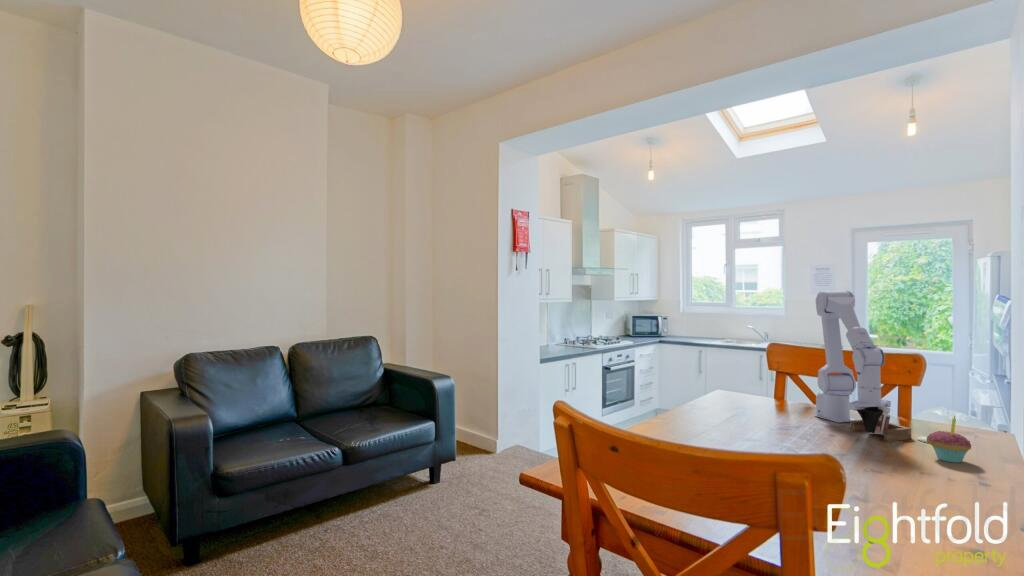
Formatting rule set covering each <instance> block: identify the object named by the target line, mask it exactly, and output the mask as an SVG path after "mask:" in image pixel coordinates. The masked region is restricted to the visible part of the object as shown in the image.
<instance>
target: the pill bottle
mask: <svg viewBox="0 0 1024 576" xmlns="http://www.w3.org/2000/svg"><path fill="white" fill-rule="evenodd" d="M878 409H881V410H883V414H882V415H881V416H880V418H879V420H878V422H877V425H876V428H875V432H874V433H875V434H878V435H880V436H881V435H882V436H884V430H887V429H888V425H889V423H890V420H891V415H890V412H891V407H878ZM874 433H873V434H874Z"/></svg>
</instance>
